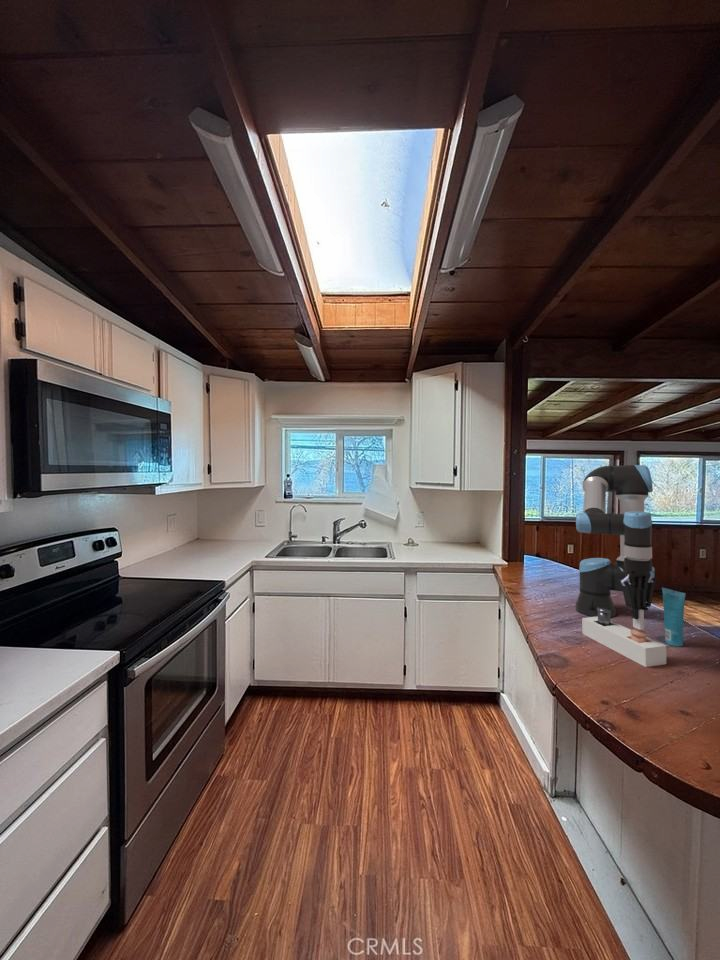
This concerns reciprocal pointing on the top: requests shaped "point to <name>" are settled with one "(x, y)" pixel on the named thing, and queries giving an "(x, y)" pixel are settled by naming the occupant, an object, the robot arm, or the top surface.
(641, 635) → the tan rounded peg
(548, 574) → the top surface
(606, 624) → the plunger graphite
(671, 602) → the tube
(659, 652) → the block
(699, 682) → the top surface
